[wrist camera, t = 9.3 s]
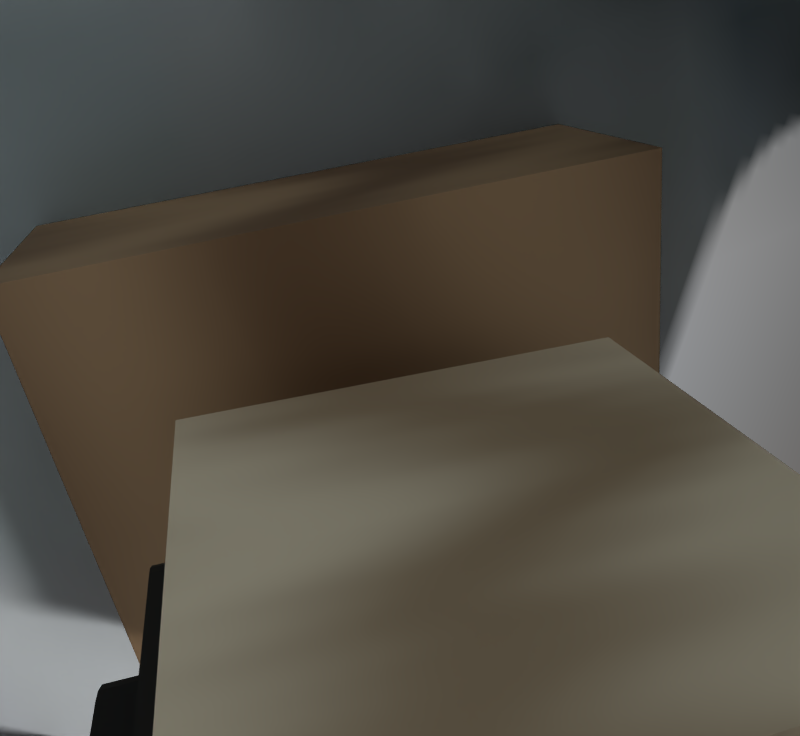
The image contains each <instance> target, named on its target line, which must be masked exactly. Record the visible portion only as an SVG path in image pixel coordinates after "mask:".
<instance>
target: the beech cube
mask: <svg viewBox="0 0 800 736" xmlns="http://www.w3.org/2000/svg"><path fill="white" fill-rule="evenodd" d="M153 736H800V474H798V473H797V472H795V471H794V470H793V469H791V468H790V467H789V466H787V465H786V464H784V463H783V462H782V461H780V460H779V459H777V458H776V457H775V456H773V455H772V454H770V453H769V452H767V451H766V450H765V449H763V448H762V447H761V446H759V445H758V444H757V443H755V442H754V441H752V440H751V439H749V438H748V437H747V436H745V435H744V434H743V433H741V432H740V431H738V430H737V429H736V428H734V427H733V426H732V425H730V424H729V423H727V422H726V421H725V420H723V419H722V418H720V417H719V416H718V415H716V414H715V413H713V412H712V411H711V410H709V409H708V408H706V407H705V406H704V405H702V404H701V403H700V402H698V401H697V400H695V399H694V398H693V397H691V396H689V395H688V394H687V393H686V392H684V391H683V390H681V389H680V388H679V387H677V386H676V385H674V384H673V383H672V382H670V381H669V380H668V379H666V378H665V377H663V376H662V375H661V374H659V373H658V372H656V371H655V370H654V369H652V368H651V367H649V366H648V365H647V364H645V363H644V362H642V361H641V360H640V359H638V358H637V357H636V356H634V355H633V354H631V353H630V352H629V351H627V350H626V349H624V348H623V347H622V346H620V345H619V344H617V343H616V342H615V341H613V340H612V339H611V338H609V337H607V338H601V339H596V340H591V341H586V342H581V343H575V344H570V345H565V346H560V347H555V348H549V349H544V350H539V351H534V352H528V353H523V354H518V355H513V356H508V357H502V358H497V359H492V360H487V361H482V362H476V363H471V364H466V365H461V366H456V367H450V368H445V369H440V370H435V371H429V372H424V373H419V374H414V375H409V376H403V377H398V378H393V379H388V380H383V381H377V382H372V383H367V384H362V385H356V386H351V387H346V388H341V389H336V390H330V391H325V392H320V393H315V394H310V395H304V396H299V397H294V398H289V399H283V400H278V401H273V402H268V403H263V404H257V405H252V406H247V407H242V408H237V409H231V410H226V411H221V412H216V413H211V414H205V415H200V416H195V417H190V418H184V419H179V420H176V421H175V435H174V449H173V463H172V476H171V490H170V504H169V517H168V531H167V545H166V559H165V572H164V586H163V600H162V613H161V627H160V641H159V655H158V668H157V682H156V696H155V709H154V723H153Z"/></svg>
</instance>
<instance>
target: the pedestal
mask: <svg viewBox="0 0 800 736" xmlns="http://www.w3.org/2000/svg"><path fill="white" fill-rule="evenodd" d="M661 197H662V148H661V147H657V146H653V145H648V144H644V143H640V142H635V141H631V140H626V139H622V138H618V137H613V136H609V135H604V134H600V133H596V132H591V131H587V130H583V129H578V128H574V127H569V126H565V125H561V124H556V125H551V126H546V127H541V128H536V129H531V130H526V131H520V132H515V133H510V134H505V135H500V136H495V137H490V138H485V139H480V140H474V141H469V142H464V143H459V144H454V145H449V146H444V147H439V148H433V149H428V150H423V151H418V152H413V153H408V154H403V155H398V156H392V157H387V158H382V159H377V160H372V161H367V162H362V163H357V164H351V165H346V166H341V167H336V168H331V169H326V170H321V171H316V172H311V173H305V174H300V175H295V176H290V177H285V178H280V179H275V180H270V181H264V182H259V183H254V184H249V185H244V186H239V187H234V188H229V189H223V190H218V191H213V192H208V193H203V194H198V195H193V196H188V197H182V198H177V199H172V200H167V201H162V202H157V203H152V204H147V205H141V206H136V207H131V208H126V209H121V210H116V211H111V212H106V213H101V214H95V215H90V216H85V217H80V218H75V219H70V220H65V221H60V222H54V223H49V224H44V225H39V226H36V227H35V228H34V229H33V230H32V231H31V233H30V234H29V235H28V236H27V237H26V238H25V239H24V240H23V241H22V242H21V244H20V245H19V246H18V247H17V248H16V249H15V250H14V251H13V252H12V253H11V254H10V256H9V257H8V258H7V259H6V260H5V261H4V262H3V263H2V264H1V265H0V335H1V337H2V339H3V342H4V344H5V347H6V349H7V351H8V354H9V356H10V358H11V361H12V363H13V365H14V368H15V370H16V373H17V375H18V377H19V380H20V382H21V384H22V387H23V389H24V391H25V394H26V396H27V399H28V401H29V403H30V406H31V408H32V410H33V413H34V415H35V417H36V420H37V422H38V425H39V427H40V429H41V432H42V434H43V436H44V439H45V441H46V443H47V446H48V448H49V451H50V453H51V455H52V458H53V460H54V462H55V465H56V467H57V469H58V472H59V474H60V477H61V479H62V481H63V484H64V486H65V488H66V491H67V493H68V495H69V498H70V500H71V503H72V505H73V507H74V510H75V512H76V514H77V517H78V519H79V521H80V524H81V526H82V529H83V531H84V533H85V536H86V538H87V540H88V543H89V545H90V547H91V550H92V552H93V555H94V557H95V559H96V562H97V564H98V566H99V569H100V571H101V573H102V576H103V578H104V581H105V583H106V585H107V588H108V590H109V592H110V595H111V597H112V599H113V602H114V604H115V607H116V609H117V611H118V614H119V616H120V618H121V621H122V623H123V626H124V628H125V630H126V633H127V635H128V637H129V640H130V642H131V644H132V647H133V649H134V652H135V654H136V656H137V659H138V661H139V663H140V658H141V649H142V639H143V629H144V619H145V609H146V599H147V589H148V579H149V571H150V567H151V566H152V565H157V564H161V563H165V559H166V545H167V531H168V517H169V504H170V490H171V476H172V463H173V449H174V435H175V421H176V420H179V419H184V418H190V417H195V416H200V415H205V414H211V413H216V412H221V411H226V410H231V409H237V408H242V407H247V406H252V405H257V404H263V403H268V402H273V401H278V400H283V399H289V398H294V397H299V396H304V395H310V394H315V393H320V392H325V391H330V390H336V389H341V388H346V387H351V386H356V385H362V384H367V383H372V382H377V381H383V380H388V379H393V378H398V377H403V376H409V375H414V374H419V373H424V372H429V371H435V370H440V369H445V368H450V367H456V366H461V365H466V364H471V363H476V362H482V361H487V360H492V359H497V358H502V357H508V356H513V355H518V354H523V353H528V352H534V351H539V350H544V349H549V348H555V347H560V346H565V345H570V344H575V343H581V342H586V341H591V340H596V339H601V338H607V337H609V338H611V339H612V340H613V341H615V342H616V343H617V344H619V345H620V346H622V347H623V348H624V349H626V350H627V351H629V352H630V353H631V354H633V355H634V356H636V357H637V358H638V359H640V360H641V361H642V362H644V363H645V364H647V365H648V366H649V367H651V368H652V369H654V370H655V371H656V372H658V373H659V354H660V275H661Z"/></svg>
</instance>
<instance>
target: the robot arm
mask: <svg viewBox="0 0 800 736" xmlns="http://www.w3.org/2000/svg"><path fill="white" fill-rule="evenodd" d="M164 572H165V563H161V564H157V565H152V566H151V567H150V571H149V579H148V589H147V599H146V609H145V619H144V629H143V639H142V649H141V658H140V668H139V675H138V676H134V677H130V678H126V679H122V680H118V681H114V682H110V683H106V684H102V686H101V687H100V689H99V690H98V694H97V698H96V702H95V708H94V714H93V720H92V726H91V732H90V736H153V723H154V709H155V696H156V682H157V668H158V655H159V641H160V627H161V613H162V600H163V586H164Z"/></svg>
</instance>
